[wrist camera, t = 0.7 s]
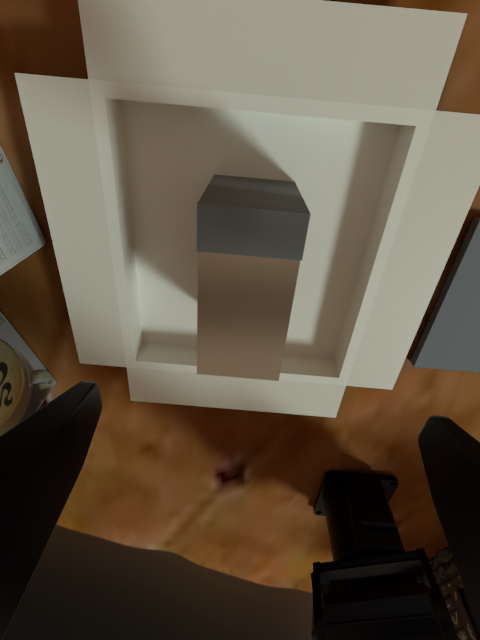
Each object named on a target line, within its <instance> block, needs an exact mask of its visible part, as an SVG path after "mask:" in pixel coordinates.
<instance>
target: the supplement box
mask: <svg viewBox="0 0 480 640" xmlns="http://www.w3.org/2000/svg"><path fill="white" fill-rule="evenodd" d="M45 244H46V241H45V238H44V235H43V233H42V231H41V229H40V227H39V225H38V222H37V220H36V218H35V216H34V214H33V212H32V210H31V208H30V206H29V204H28V202H27V200H26V198H25V195H24V193H23V192H22V189H21V187H20V185H19V183H18V181H17V179H16V177H15V175H14V173H13V171H12V168H11V166H10V164H9V162H8V160H7V158H6V156H5V154H4V152H3V150H2V148H1V146H0V275H2V274H3V273H5V272H6V271H8V270H9V269H11V268H12V267H14V266H15V265H16V264H18V263H19V262H21V261H22V260H24V259H25V258H27V257H28V256H29V255H31V254H32V253H33V252H35V251H37V250H38V249H40V248H41V247H42V246H44V245H45Z"/></svg>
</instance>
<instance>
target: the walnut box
mask: <svg viewBox="0 0 480 640" xmlns="http://www.w3.org/2000/svg"><path fill="white" fill-rule="evenodd" d="M309 220H310V212H309V210H308V208H307V205H306V203H305V201H304V199H303V197H302V195H301V193H300V191H299V189H298V187H297V185H296V183H295V182H294V181H283V180H272V179H260V178H249V177H238V176H226V175H215V174H214V176H213V177H212V179H211V181H210V183H209V184H208V186H207V188H206V189H205V191H204V193H203V194H202V196H201V198H200V200H199V201H198V203H197V251H198V300H197V374H202V375H214V376H226V377H238V378H250V379H262V380H274V381H279V376H280V370H281V365H282V359H283V354H284V348H285V343H286V337H287V332H288V326H289V321H290V315H291V310H292V304H293V299H294V293H295V288H296V282H297V277H298V271H299V266H300V260H302V258H303V252H304V247H305V241H306V236H307V231H308V225H309Z"/></svg>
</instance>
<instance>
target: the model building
mask: <svg viewBox="0 0 480 640" xmlns="http://www.w3.org/2000/svg"><path fill="white" fill-rule="evenodd" d="M429 563H430V565H431V568H432V570H433V573H434V575H435V578H436V580H437V583H438V585H439V588H440V590H441V593H442V595H443V598H444V600H445V603H446V605H447V608H448V610H449V613H450V615H451V618H452V621H453V624H454V626H455V629H456V632H457V635H458V638H459V640H480V631H479V628H478V625H477V622H476V620H475V617H474V614H473V611H472V608H471V606H470V603H469V600H468V597H467V594H466V592H465V589H464V586H463V583H462V581H461V578H460V575H459V572H458V569H457V567H456V564H455V561H454V558H453V555H452V553H451V550H450V548H448V549H445V550H442V551H440V552H439V554H438V557H436V558H435V559H434V560H432V561H430V562H429Z"/></svg>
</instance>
